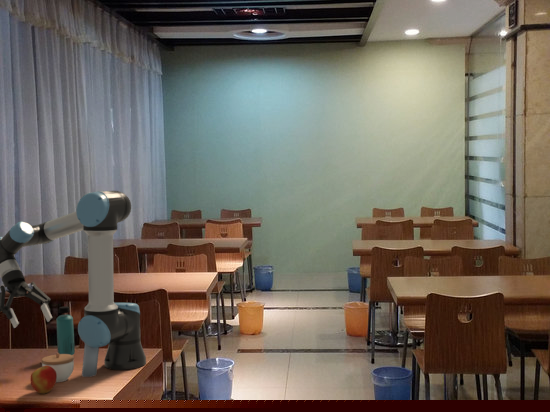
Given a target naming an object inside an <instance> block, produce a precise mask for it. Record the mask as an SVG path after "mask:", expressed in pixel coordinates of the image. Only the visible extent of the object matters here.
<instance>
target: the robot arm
mask: <svg viewBox="0 0 550 412" xmlns="http://www.w3.org/2000/svg"><path fill="white" fill-rule="evenodd" d="M131 212H132V202H131V199H130V198H129V196H128V195H127V194H125V192H123V191H119V190H109V191H108V190H107V191H104V190H103V191H92V192H89V193H86V194H85V195H83V196H82V197H81V198H80V199H79V201H78V203H77V205H76V210H75V211H73V212H70V213H68V214H65V215H62V216H58V217H56V218H54V219H51V220H48V221H46V222H42V223H39V224H34V225H33V224H32V225H31V224H30V223H28V222H24V221H18V222H16V224H14V225H13V226H12V227H11V228H10V229H9V230H8V231H7V232H6V234H5V235H4V236H0V279H1V283H2V284H3V285H1V286H0V313H1V312H2V314H5V316H6V318H7V320H9V321H10V322H11V324H12V328H13V329H15V328H17V327H18V325H19V324H20V321H18V318H17V316H16V314H15V312H14V309H13V308H11V305H12V303H13V300H14V298H19V297H26V298H29V299H30V300H32V301H34V302H35V303H36V304H39V305H40V310H41V311H42V314H43V316H44V318H45V320H46V322H47V323H49V322H50V321H51V320H52V319H53V316H52V314H51V308H50V305H49V303H50V302H51V298H50V297H49V296H48V295H47V294H46V293H45V292H44V291H43V290H41V288H40V287H38V286H37V284H36V282H35V281H31V282H30V283H27V282H26V279H25V276H24V273H23V271H21V267H20V265H19V263H18V261H17V259H16V256H15V255H16V254H17V253H18V252H19V251H20V250H21V249H22V248H23V247H32V246H36V245H46V244H49V243H52V242H54V241H55V240H58V239H60V238H61V239H62V238H64V237H66V236H70V235H73V234H75V233H78V232H82V231H83V232H84V233H85V234H86V235H87V260H88V263H87V267H88V268H87V269H88V274H87V275H88V276H87V277H88V303H87V305H86V306H85V307H84V316H83V317H82V318H80V320H79V322H78V325H77V332H78V335H79V338H80V340H81V341H82V342H83V343H84V345H85V344H86V345H88V346H90V347H94V348H97V347H99V348H103V347H106V346H107V345H108V346H107V350H106V354H105V356H104V368H106V369H108V370H116V371H118V370H119V371H124V370H134V369H137V368H140V367H141V368H142V367H143V366H145V365H146V364H147V356H146V353H145V351H144V348H143V346H142V342H141V311H140V306H139V305H138V304H137V303H134V302H115V301H114V300H115V298H114V295H115V290H114V288H115V287H114V286H115V285H114V284H115V283H114V277H115V276H114V234H116V232H117V231H118V223H121V222H124V221H125V220H126V219H127V218H128V217H129V216H130V214H131ZM6 292H7V293H9V295H8V299H7V301H6V303H5V300H6Z"/></svg>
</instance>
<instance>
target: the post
mask: <svg viewBox="0 0 550 412" xmlns="http://www.w3.org/2000/svg"><path fill="white" fill-rule="evenodd" d="M99 351H100V347H97V348H94V347H90V346H88V345H86V344H85V343H84V349H83V360H82V371H81V377H84V378H85V377H86V378H89V377H90V378H91V377H95V376H96V375H97V372H98V361H99V354H100V353H99Z"/></svg>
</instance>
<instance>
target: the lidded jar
mask: <svg viewBox="0 0 550 412" xmlns="http://www.w3.org/2000/svg"><path fill="white" fill-rule="evenodd" d="M74 360H75V356H74V354H73V355H70V354H59V353H58V352H56V353H55V354H51V355H46V356H44V357H43V358H42V359H41V365H42V367H43V366H51V367H52V368H53V369H54V370H55V371H56V374H57V378H56V383H63V382H66V381H68V380H69V378H70V377H71V376H72V374H73V371H74V365H75V364H74V363H75V361H74Z"/></svg>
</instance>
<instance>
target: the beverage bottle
mask: <svg viewBox="0 0 550 412" xmlns="http://www.w3.org/2000/svg"><path fill="white" fill-rule="evenodd" d="M58 313H59V314H61V315H59V316H58V317H56V319H55V321H56V341H57V343H56V345H57V350H56V351H57V352H56V353H59V354H70V355H73V356H74V354H75V349H76V347H75V344H76V343H75V331H74V329H75V328H74V318H73V316H72V315H71V314H69V313H71V309H70V306H60V307H59V308H58Z"/></svg>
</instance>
